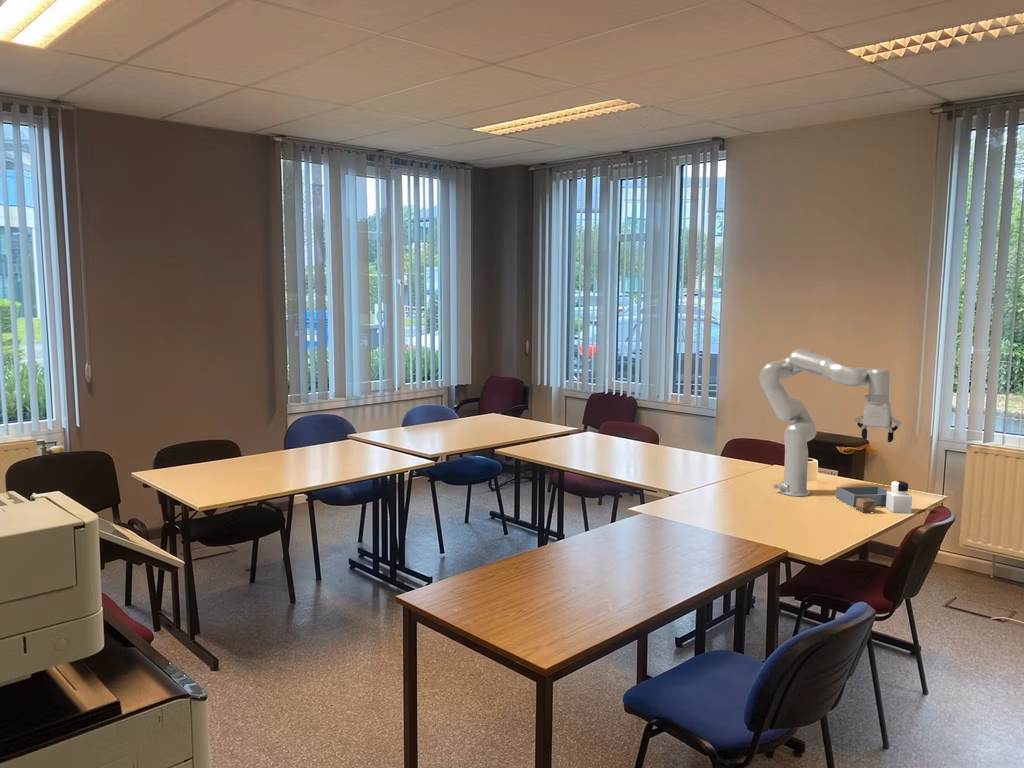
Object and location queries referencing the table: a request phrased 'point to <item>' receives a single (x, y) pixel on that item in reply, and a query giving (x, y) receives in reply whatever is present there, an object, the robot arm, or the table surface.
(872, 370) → the robot arm
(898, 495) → the medicine bottle
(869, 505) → the walnut cube
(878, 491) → the tote
